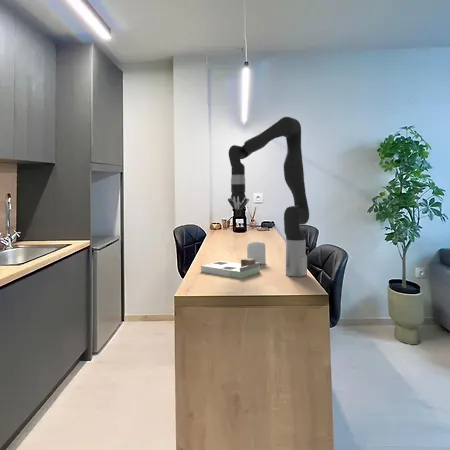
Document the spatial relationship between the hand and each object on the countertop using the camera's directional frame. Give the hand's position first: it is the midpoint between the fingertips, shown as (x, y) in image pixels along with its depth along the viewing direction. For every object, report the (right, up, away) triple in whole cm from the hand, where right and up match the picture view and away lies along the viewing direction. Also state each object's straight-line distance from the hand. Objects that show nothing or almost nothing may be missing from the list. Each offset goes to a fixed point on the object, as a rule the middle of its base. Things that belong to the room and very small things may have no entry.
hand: (238, 216), depth 202 cm
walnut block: (+4, -26, -16) cm, 30 cm away
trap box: (-5, -28, -13) cm, 31 cm away
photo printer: (+10, -27, +7) cm, 30 cm away
